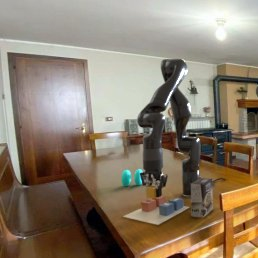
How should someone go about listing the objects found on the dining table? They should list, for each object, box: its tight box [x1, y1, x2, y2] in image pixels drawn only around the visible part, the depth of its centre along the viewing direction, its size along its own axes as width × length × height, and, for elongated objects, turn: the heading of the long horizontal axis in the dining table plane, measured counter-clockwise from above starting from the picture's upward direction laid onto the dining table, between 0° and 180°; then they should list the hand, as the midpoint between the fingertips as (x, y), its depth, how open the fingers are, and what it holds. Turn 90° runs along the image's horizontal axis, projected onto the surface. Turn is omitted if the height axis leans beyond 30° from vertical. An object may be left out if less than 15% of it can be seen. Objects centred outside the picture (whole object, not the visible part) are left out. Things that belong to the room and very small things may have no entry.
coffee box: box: [190, 177, 214, 218], centre depth 115 cm, size 9×6×16 cm
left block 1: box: [140, 198, 156, 212], centre depth 118 cm, size 4×4×4 cm
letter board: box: [122, 205, 190, 226], centre depth 116 cm, size 19×21×1 cm
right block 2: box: [168, 197, 184, 211], centre depth 120 cm, size 4×4×4 cm
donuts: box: [121, 168, 144, 187], centre depth 152 cm, size 10×10×10 cm
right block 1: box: [159, 201, 174, 216], centre depth 114 cm, size 4×4×4 cm
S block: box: [145, 184, 163, 199], centre depth 107 cm, size 4×4×4 cm
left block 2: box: [153, 194, 167, 207], centre depth 123 cm, size 4×4×4 cm
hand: (154, 195), depth 108 cm, fingers closed on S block, 4 cm apart
